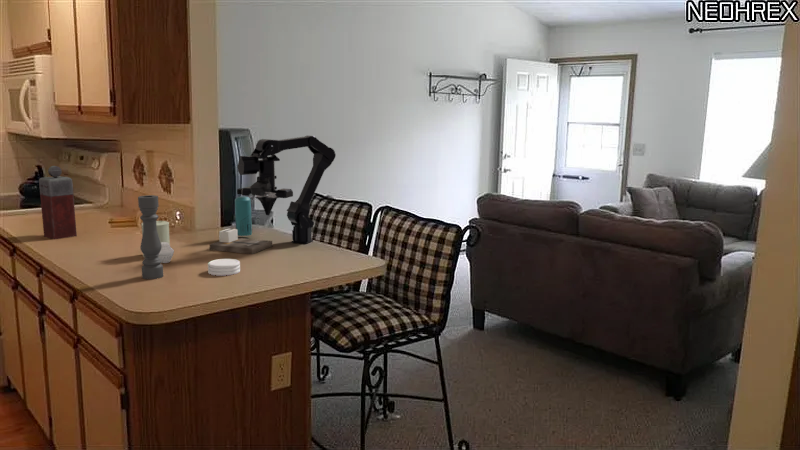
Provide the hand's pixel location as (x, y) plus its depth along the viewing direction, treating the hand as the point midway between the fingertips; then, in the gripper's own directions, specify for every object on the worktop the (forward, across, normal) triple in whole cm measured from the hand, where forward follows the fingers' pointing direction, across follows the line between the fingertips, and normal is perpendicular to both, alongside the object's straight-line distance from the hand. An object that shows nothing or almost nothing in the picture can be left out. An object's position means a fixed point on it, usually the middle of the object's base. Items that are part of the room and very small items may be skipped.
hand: (267, 215), depth 243 cm
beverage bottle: (+12, -17, +10) cm, 23 cm away
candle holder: (+12, -11, -51) cm, 54 cm away
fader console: (+12, -8, -6) cm, 16 cm away
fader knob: (+10, -13, -6) cm, 18 cm away
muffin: (+12, -20, -34) cm, 41 cm away
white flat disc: (+12, +6, -38) cm, 40 cm away
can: (+12, -29, -27) cm, 41 cm away
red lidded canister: (+12, -87, -14) cm, 89 cm away
